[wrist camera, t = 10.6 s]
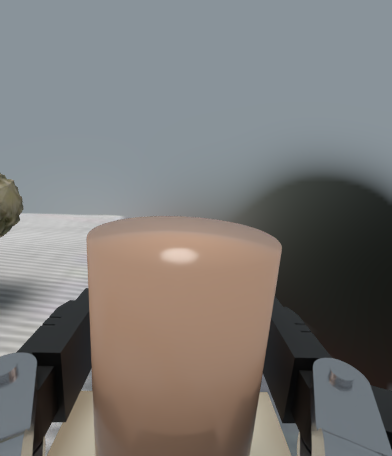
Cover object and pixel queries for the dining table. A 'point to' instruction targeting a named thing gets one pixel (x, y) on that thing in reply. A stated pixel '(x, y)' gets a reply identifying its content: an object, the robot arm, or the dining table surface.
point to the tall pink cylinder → (178, 334)
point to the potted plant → (9, 205)
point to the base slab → (85, 443)
